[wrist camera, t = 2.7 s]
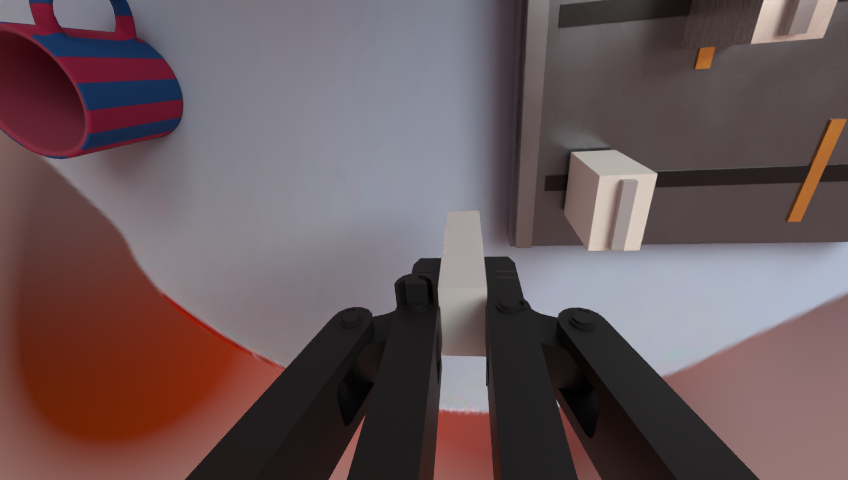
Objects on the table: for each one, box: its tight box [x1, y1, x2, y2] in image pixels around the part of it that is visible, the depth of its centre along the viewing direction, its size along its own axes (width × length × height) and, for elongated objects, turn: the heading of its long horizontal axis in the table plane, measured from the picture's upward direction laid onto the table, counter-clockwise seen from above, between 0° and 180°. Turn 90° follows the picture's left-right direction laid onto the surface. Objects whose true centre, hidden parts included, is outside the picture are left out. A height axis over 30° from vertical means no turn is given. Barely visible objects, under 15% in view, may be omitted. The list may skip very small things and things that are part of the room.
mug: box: [0, 0, 183, 159], centre depth 20 cm, size 7×10×7 cm
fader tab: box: [564, 150, 657, 251], centre depth 19 cm, size 4×2×5 cm, turn 4°
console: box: [507, 0, 848, 248], centre depth 17 cm, size 18×23×7 cm
